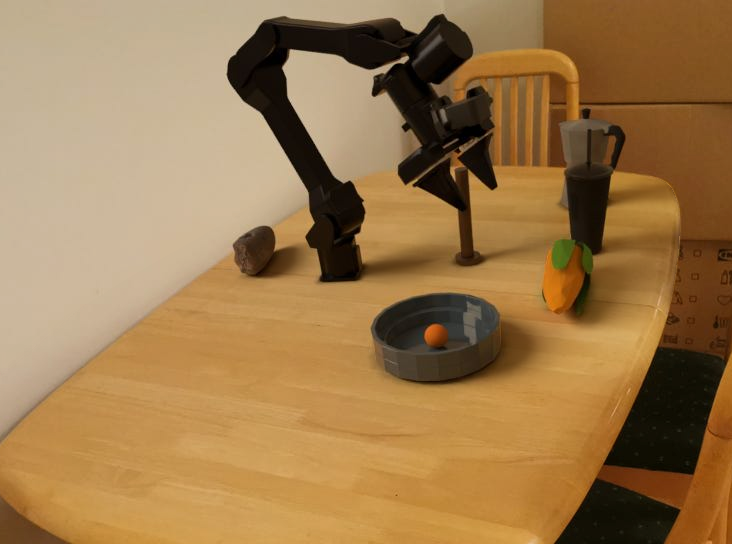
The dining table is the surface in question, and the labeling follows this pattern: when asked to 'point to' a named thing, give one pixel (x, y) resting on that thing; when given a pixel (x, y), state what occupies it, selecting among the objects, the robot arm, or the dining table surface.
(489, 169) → the robot arm
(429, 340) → the ball
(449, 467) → the dining table surface
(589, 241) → the drinking cup
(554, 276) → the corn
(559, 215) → the dining table surface
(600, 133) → the coffeepot
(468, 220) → the stirring stick
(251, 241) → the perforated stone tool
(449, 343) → the bowl
